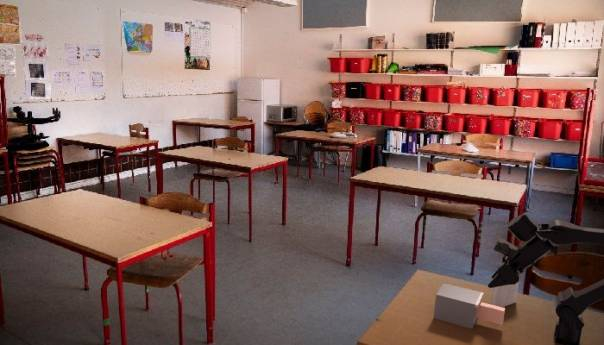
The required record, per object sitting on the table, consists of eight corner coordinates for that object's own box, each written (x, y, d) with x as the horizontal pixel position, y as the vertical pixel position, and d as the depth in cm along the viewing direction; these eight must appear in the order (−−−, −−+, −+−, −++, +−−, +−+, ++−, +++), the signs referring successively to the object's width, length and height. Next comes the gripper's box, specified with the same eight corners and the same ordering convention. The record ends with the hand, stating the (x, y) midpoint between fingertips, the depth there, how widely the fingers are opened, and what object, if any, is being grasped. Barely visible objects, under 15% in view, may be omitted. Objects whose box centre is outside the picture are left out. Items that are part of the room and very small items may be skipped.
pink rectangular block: (503, 322, 156) (505, 308, 155) (502, 325, 154) (504, 311, 153) (451, 308, 163) (452, 294, 162) (449, 311, 161) (451, 297, 160)
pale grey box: (480, 316, 163) (483, 292, 161) (474, 329, 154) (478, 305, 152) (441, 305, 169) (443, 283, 167) (433, 318, 160) (436, 294, 158)
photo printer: (507, 297, 177) (511, 264, 174) (518, 302, 173) (523, 269, 171) (488, 304, 171) (493, 270, 169) (499, 309, 168) (504, 275, 165)
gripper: (514, 225, 160) (476, 254, 166) (508, 238, 143) (466, 270, 150) (540, 252, 157) (501, 281, 163) (537, 268, 141) (493, 300, 147)
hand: (490, 282), depth 156 cm, fingers open, 9 cm apart
